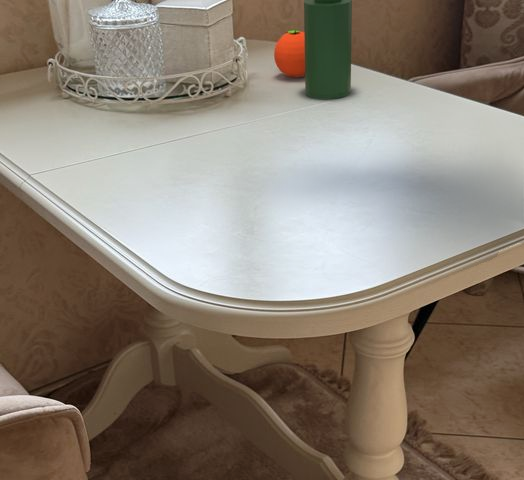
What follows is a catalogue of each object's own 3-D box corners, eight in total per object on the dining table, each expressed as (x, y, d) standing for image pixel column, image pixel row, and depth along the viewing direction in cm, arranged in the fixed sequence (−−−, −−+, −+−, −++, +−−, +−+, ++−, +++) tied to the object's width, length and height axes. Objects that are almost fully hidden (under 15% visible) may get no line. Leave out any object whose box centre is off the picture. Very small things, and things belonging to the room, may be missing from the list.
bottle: (349, 85, 123) (350, -36, 113) (351, 98, 117) (353, -28, 107) (305, 87, 123) (303, -34, 113) (305, 100, 117) (303, -26, 108)
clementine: (266, 73, 131) (264, 27, 127) (304, 67, 133) (303, 22, 129) (284, 84, 124) (283, 37, 120) (324, 78, 126) (324, 31, 122)
